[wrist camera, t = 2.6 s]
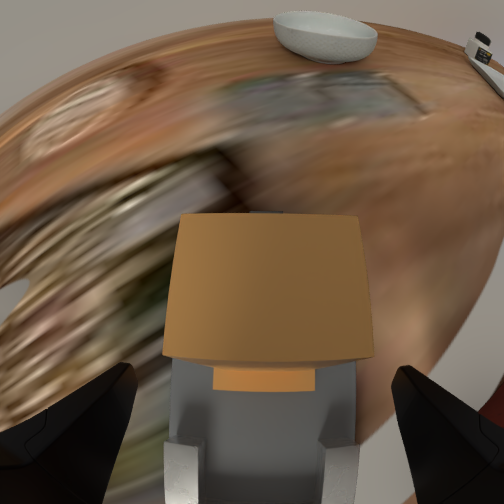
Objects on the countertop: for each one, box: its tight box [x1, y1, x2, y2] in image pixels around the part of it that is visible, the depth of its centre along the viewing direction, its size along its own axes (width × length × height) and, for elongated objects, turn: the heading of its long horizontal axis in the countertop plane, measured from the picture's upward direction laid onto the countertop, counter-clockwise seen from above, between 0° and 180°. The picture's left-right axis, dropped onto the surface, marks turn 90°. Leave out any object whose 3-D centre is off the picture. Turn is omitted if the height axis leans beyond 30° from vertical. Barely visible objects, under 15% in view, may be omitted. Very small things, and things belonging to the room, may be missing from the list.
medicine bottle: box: [464, 32, 492, 66], centre depth 45 cm, size 7×7×12 cm
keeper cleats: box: [164, 434, 360, 504], centre depth 12 cm, size 6×11×2 cm, turn 88°
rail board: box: [169, 358, 356, 502], centre depth 16 cm, size 15×12×1 cm
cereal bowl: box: [273, 11, 378, 64], centre depth 34 cm, size 17×17×7 cm
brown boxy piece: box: [163, 211, 374, 392], centre depth 13 cm, size 13×6×12 cm, turn 178°
